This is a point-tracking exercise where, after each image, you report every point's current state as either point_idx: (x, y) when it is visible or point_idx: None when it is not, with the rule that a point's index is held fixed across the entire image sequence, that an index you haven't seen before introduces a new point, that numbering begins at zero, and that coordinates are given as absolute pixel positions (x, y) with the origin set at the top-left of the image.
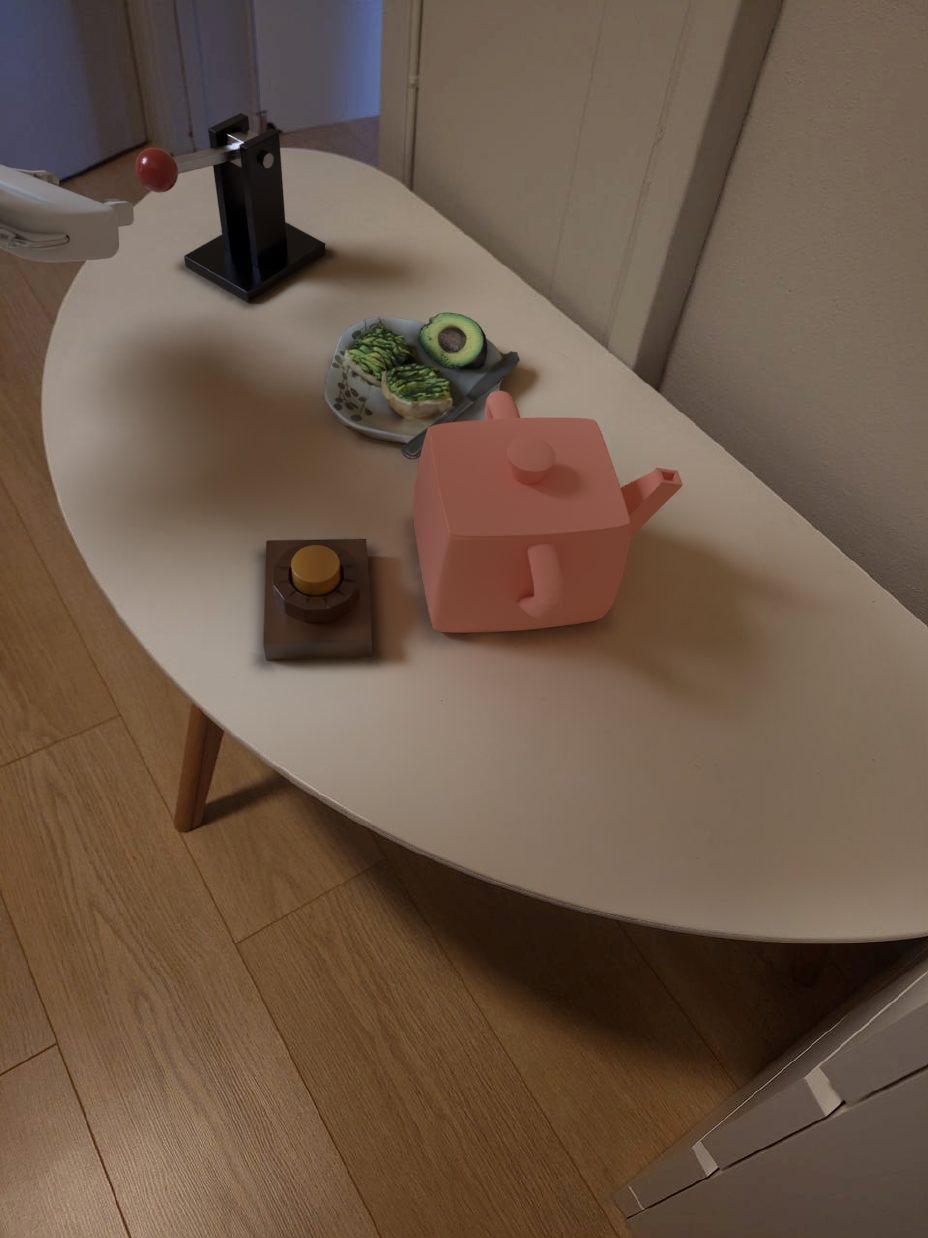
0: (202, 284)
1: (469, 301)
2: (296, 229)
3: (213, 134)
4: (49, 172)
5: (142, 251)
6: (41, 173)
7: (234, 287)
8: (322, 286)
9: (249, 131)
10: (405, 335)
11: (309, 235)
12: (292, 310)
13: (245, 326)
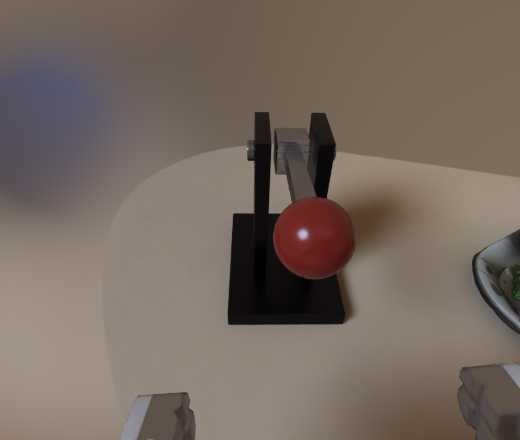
0: (272, 335)
1: (462, 199)
2: None
3: (266, 148)
4: (161, 399)
5: (158, 339)
6: (158, 426)
7: (322, 317)
8: (365, 256)
9: (281, 128)
10: (504, 259)
11: None
12: (385, 301)
13: (382, 358)
